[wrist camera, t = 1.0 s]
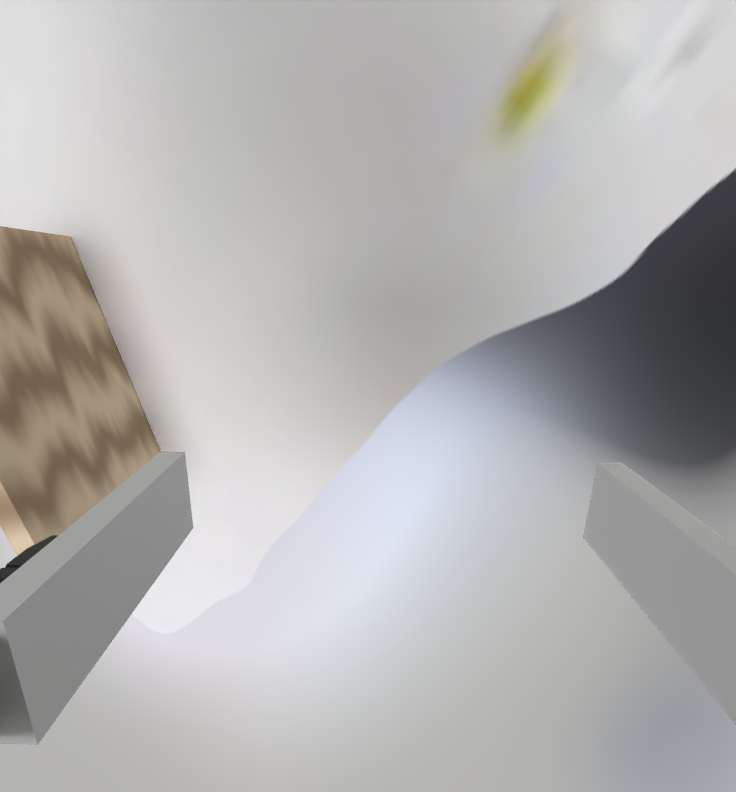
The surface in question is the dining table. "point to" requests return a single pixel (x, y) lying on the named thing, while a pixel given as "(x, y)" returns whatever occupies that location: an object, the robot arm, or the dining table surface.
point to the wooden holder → (59, 393)
